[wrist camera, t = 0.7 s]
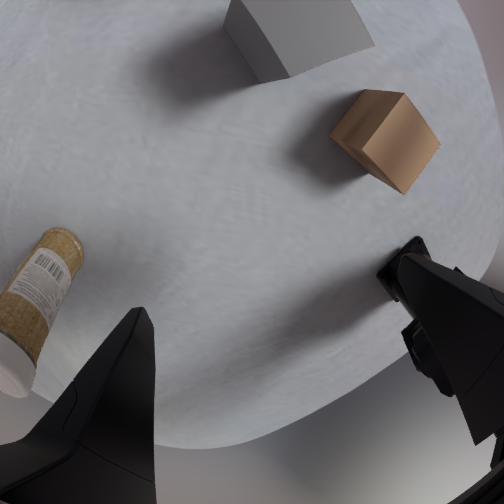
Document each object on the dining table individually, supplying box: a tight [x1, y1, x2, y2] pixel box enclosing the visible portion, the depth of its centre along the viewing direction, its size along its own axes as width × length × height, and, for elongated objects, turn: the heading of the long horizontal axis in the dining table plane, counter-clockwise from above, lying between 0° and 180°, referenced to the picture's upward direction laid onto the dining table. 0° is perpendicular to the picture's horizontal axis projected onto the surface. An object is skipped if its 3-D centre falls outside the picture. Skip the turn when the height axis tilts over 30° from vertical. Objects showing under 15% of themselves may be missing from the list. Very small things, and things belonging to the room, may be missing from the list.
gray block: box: [223, 0, 375, 84], centre depth 11 cm, size 5×5×7 cm
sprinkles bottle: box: [0, 228, 84, 398], centre depth 14 cm, size 5×5×14 cm
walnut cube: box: [328, 89, 441, 195], centre depth 17 cm, size 5×5×5 cm
